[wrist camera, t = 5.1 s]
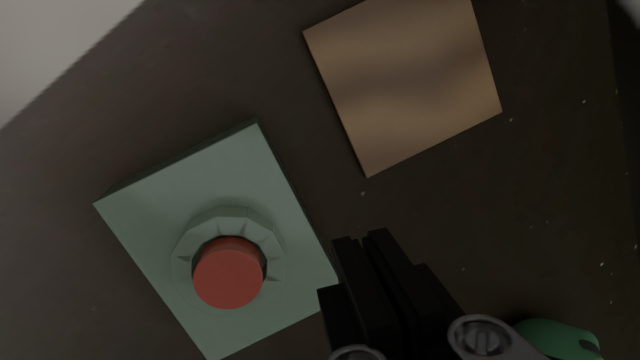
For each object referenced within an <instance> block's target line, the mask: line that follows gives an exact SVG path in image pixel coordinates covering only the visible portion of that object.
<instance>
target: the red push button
mask: <svg viewBox="0 0 640 360" xmlns="http://www.w3.org/2000/svg"><path fill="white" fill-rule="evenodd" d="M262 283H263V266H262V258H261V255H260V253H259V251H258V250H257V248H256V247H255V246H254V245H252V244H251V243H250V242H248V241H246V240H244V239H241V238H237V237H223V238H219V239H216V240H214V241H212V242H210V243H209V244H208V245H207V246H205V247H204V249H203V250H202V251H201V253H200V255H199V257H198V260H197V264H196V267H195V271H194V275H193V285H194V289H195V291H196V293H197V295H198V296H199V297H200V298H201V299H202V300H203V301H204V302H205V303H207V304H208V305H210V306H212V307H215V308H219V309H235V308H239V307H242V306H244V305H246V304H248V303H249V302H251V301H252V300H253V299H254V298H255V297H256V296H257V295H258V293H259V291H260V289H261V287H262Z"/></svg>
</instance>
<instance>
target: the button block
mask: <svg viewBox="0 0 640 360" xmlns="http://www.w3.org/2000/svg"><path fill="white" fill-rule="evenodd" d="M93 206H94V207H95V208H96V210H97V211H98V213H99V214H100V215H101V217H102V218H103V219H104V221H105V222H106V223H107V225H108V226H109V227H110V229H111V230H112V232H113V233H114V234H115V236H116V237H117V238H118V240H119V241H120V242H121V244H122V245H123V246H124V248H125V249H126V251H127V252H128V253H129V255H130V256H131V257H132V259H133V260H134V261H135V263H136V264H137V265H138V267H139V268H140V270H141V271H142V272H143V274H144V275H145V276H146V278H147V279H148V280H149V282H150V283H151V284H152V286H153V287H154V289H155V290H156V291H157V293H158V294H159V295H160V297H161V298H162V299H163V301H164V302H165V303H166V305H167V306H168V308H169V309H170V310H171V312H172V313H173V314H174V316H175V317H176V318H177V320H178V321H179V322H180V324H181V325H182V327H183V328H184V329H185V331H186V332H187V333H188V335H189V336H190V337H191V339H192V340H193V341H194V343H195V344H196V346H197V347H198V348H199V350H200V351H201V352H202V354H203V355H204V356H205V358H206V359H207V360H221V359H223V358H225V357H227V356H229V355H231V354H233V353H235V352H237V351H239V350H241V349H243V348H245V347H247V346H249V345H251V344H253V343H255V342H257V341H259V340H261V339H263V338H265V337H267V336H269V335H271V334H273V333H275V332H278V331H280V330H282V329H284V328H286V327H288V326H290V325H292V324H294V323H296V322H298V321H300V320H302V319H304V318H306V317H308V316H310V315H312V314H314V313H316V312H318V311H320V305H319V301H318V296H317V291H316V289H318V288H322V287H327V286H331V285H335V284H339V283H338V278H337V272H336V267H335V265H334V263H333V261H332V259H331V257H330V255H329V253H328V251H327V249H326V247H325V246H324V244H323V242H322V240H321V238H320V236H319V234H318V232H317V230H316V228H315V226H314V224H313V222H312V221H311V219H310V217H309V215H308V213H307V211H306V209H305V207H304V205H303V203H302V201H301V199H300V197H299V195H298V194H297V192H296V190H295V188H294V186H293V184H292V182H291V180H290V178H289V176H288V174H287V172H286V170H285V169H284V167H283V165H282V163H281V161H280V159H279V157H278V155H277V153H276V151H275V149H274V147H273V145H272V144H271V142H270V140H269V138H268V136H267V134H266V132H265V130H264V128H263V126H262V124H261V122H260V120H259V119H258V117H257V115H256V116H254V117H252V118H250V119H248V120H246V121H244V122H241V123H239V124H237V125H235V126H233V127H231V128H229V129H227V130H225V131H223V132H221V133H219V134H217V135H215V136H213V137H211V138H209V139H207V140H205V141H203V142H201V143H199V144H197V145H195V146H193V147H190V148H188V149H186V150H184V151H182V152H180V153H178V154H176V155H174V156H172V157H170V158H168V159H166V160H164V161H162V162H160V163H158V164H156V165H154V166H152V167H150V168H148V169H146V170H144V171H142V172H139V173H137V174H135V175H133V176H131V177H129V178H127V179H125V180H123V181H121V182H119V183H117V184H115V185H113V186H111V187H110V188H109V189H108V190H106V191H105V192H104V193H103V194H102V195H101V196H100V197H99V198H98V199H97V200H96V201H95V202H94V203H93ZM223 237H237V238H241V239H244V240H246V241H248V242H250V243H251V244H252V245H254V246H255V247H256V248H257V250H258V251H259V253H260V255H261V258H262V266H263V283H262V287H261V289H260V291H259V293H258V295H257V296H256V297H255V298H254V299H253V300H252V301H251V302H249V303H248V304H246V305H244V306H242V307H239V308H235V309H219V308H215V307H212V306H210V305H208V304H207V303H205V302H204V301H203V300H202V299H201V298H200V297H199V296H198V295H197V293H196V291H195V289H194V285H193V275H194V271H195V267H196V264H197V260H198V257H199V255H200V253H201V251H202V250H203V249H204V247H205V246H207V245H208V244H209V243H210V242H212V241H214V240H216V239H219V238H223Z"/></svg>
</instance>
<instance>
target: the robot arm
mask: <svg viewBox="0 0 640 360" xmlns="http://www.w3.org/2000/svg"><path fill="white" fill-rule="evenodd" d="M331 245H332V251H333V256H334V261H335V267H336V272H337V278H338V283H339V284H335V285H331V286H327V287H322V288H318V289H316V291H317V296H318V301H319V305H320V310H321V315H322V319H323V324H324V328H325V333H326V337H327V341H328V345H329V350H330V354H331V355H330V356H329V357H328V358H327V359H326V360H562V359H559V358H555V357H552V356H549V355H545V354H543V353H542V352H541V351H540V350H538V349H537V348H536V347H535V346H534V345H533V344H531V343H530V342H529V341H528V340H527V339H525V338H524V337H523V336H522V335H521V334H520V333H518V332H517V331H516V330H515V329H514V328H512V327H511V326H510V325H509V324H507V323H506V322H504V321H502V320H501V319H498V318H496V317H493V316H489V315H483V314H470V315H466V314H465V313H464V312H463V310H462V309H461V308H460V306H459V305H458V304H457V303H456V301H455V300H454V299H453V297H452V296H451V295H450V294H449V292H448V291H447V290H446V288H445V287H444V286H443V285H442V283H441V282H440V281H439V280H438V278H437V277H436V276H435V274H434V273H433V272H432V271H431V269H430V268H429V267H428V266H427V265H426V264H425V263H422V264H418V265H414V266H413V264H412V263H411V261H410V260H409V259H408V257H407V256H406V254H405V253H404V252H403V250H402V249H401V247H400V246H399V245H398V243H397V242H396V240H395V239H394V238H393V236H392V235H391V233H390V232H389V231H388V229H387V228H386V227H385V228H381V229H376V230H372V231H368V233H367V237H363V238H362V245H363V249H362V247H361V245H360V243H359V242H358V240H357V239H354V240H351V239H350V237H349V236H346V237H342V238H337V239H333V240H331Z"/></svg>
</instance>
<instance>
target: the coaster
mask: <svg viewBox="0 0 640 360" xmlns="http://www.w3.org/2000/svg"><path fill="white" fill-rule="evenodd" d="M301 33H302V35H303V37H304V39H305V42H306V44H307V46H308V48H309V51H310V53H311V55H312V57H313V60H314V62H315V64H316V67H317V69H318V71H319V73H320V76H321V78H322V80H323V82H324V85H325V87H326V89H327V91H328V94H329V96H330V98H331V100H332V103H333V105H334V107H335V109H336V112H337V114H338V116H339V118H340V121H341V123H342V125H343V127H344V130H345V132H346V134H347V136H348V139H349V141H350V143H351V146H352V148H353V150H354V152H355V155H356V157H357V159H358V161H359V164H360V166H361V168H362V170H363V173H364V175H365V177H366V178H369V177H371V176H373V175H375V174H377V173H379V172H381V171H383V170H385V169H387V168H389V167H391V166H393V165H395V164H397V163H399V162H401V161H403V160H405V159H407V158H409V157H411V156H413V155H415V154H417V153H419V152H422V151H424V150H426V149H428V148H430V147H432V146H434V145H436V144H438V143H440V142H442V141H444V140H446V139H448V138H450V137H452V136H454V135H456V134H458V133H460V132H462V131H464V130H466V129H468V128H470V127H472V126H474V125H477V124H479V123H481V122H483V121H485V120H487V119H489V118H491V117H493V116H495V115H497V114H499V113H501V112H502V108H501V105H500V101H499V98H498V94H497V91H496V87H495V84H494V80H493V77H492V73H491V70H490V66H489V63H488V59H487V56H486V52H485V49H484V45H483V42H482V38H481V35H480V31H479V28H478V24H477V21H476V17H475V14H474V10H473V7H472V3H471V0H365V1H363V2H361V3H359V4H357V5H355V6H353V7H351V8H348V9H346V10H344V11H342V12H340V13H338V14H336V15H334V16H332V17H330V18H328V19H326V20H324V21H322V22H320V23H318V24H316V25H314V26H312V27H310V28H308V29H306V30H304V31H302V32H301Z"/></svg>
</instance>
